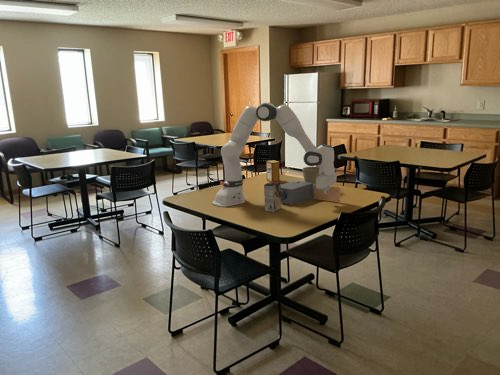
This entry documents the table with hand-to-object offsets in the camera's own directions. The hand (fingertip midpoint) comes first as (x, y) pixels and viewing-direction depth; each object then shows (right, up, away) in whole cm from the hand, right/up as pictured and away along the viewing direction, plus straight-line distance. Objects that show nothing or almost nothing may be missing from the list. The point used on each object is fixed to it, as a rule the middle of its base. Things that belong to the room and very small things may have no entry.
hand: (326, 193), depth 250 cm
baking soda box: (-29, +9, +71) cm, 77 cm away
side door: (+2, -4, +9) cm, 10 cm away
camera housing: (-18, -4, +14) cm, 23 cm away
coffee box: (-33, -10, -6) cm, 35 cm away
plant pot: (-3, +1, +36) cm, 36 cm away
